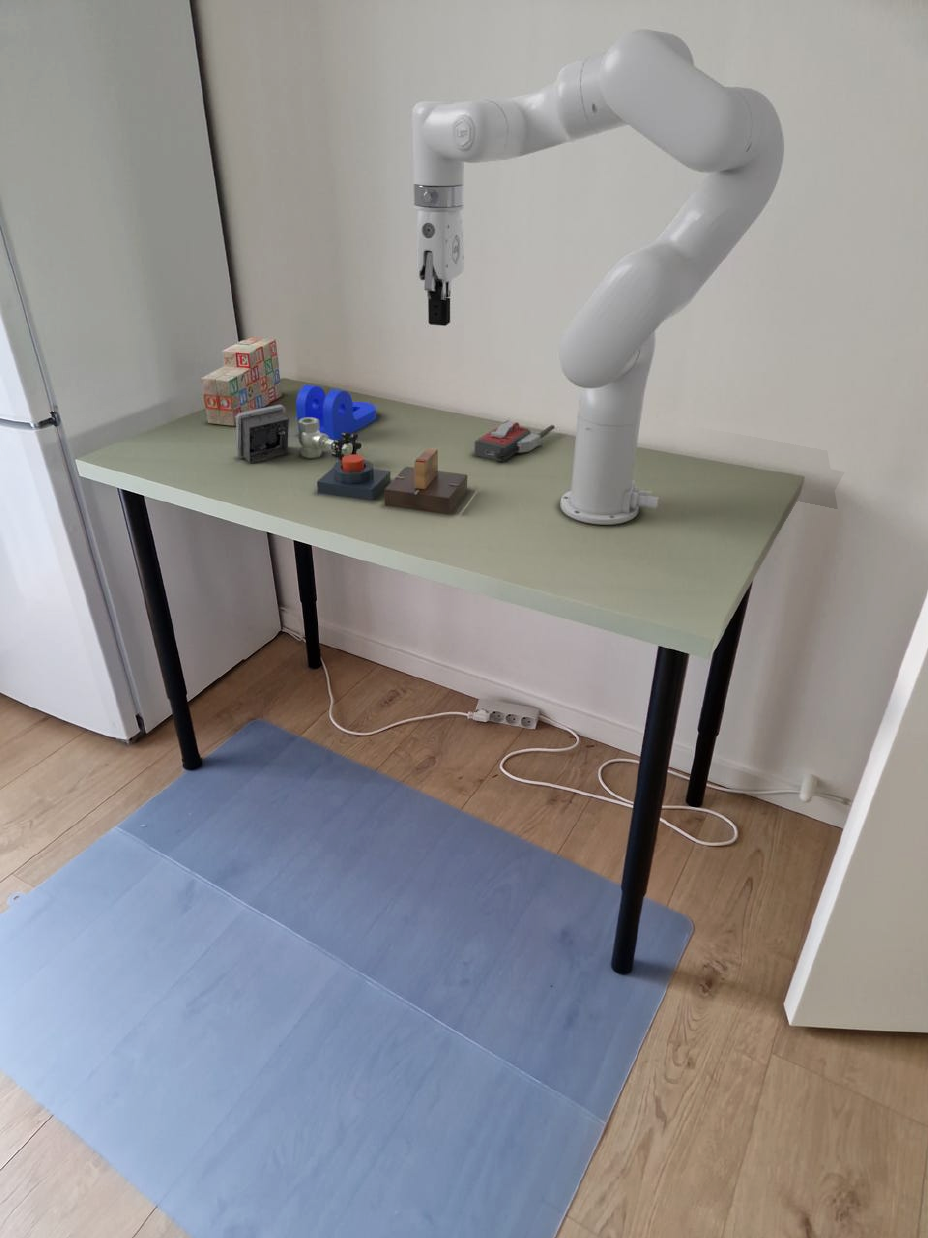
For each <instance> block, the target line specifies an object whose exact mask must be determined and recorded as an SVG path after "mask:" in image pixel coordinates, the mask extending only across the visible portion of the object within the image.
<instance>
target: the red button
mask: <svg viewBox="0 0 928 1238" xmlns="http://www.w3.org/2000/svg"><path fill="white" fill-rule="evenodd" d="M364 460H365V458H364V456H362V455H360V454H358V455H351V454H348V455H347V454H346V455H344V457H343V458H342V465H343V470H345V471H359V470H362V469H364Z"/></svg>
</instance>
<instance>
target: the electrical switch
mask: <svg viewBox="0 0 928 1238" xmlns="http://www.w3.org/2000/svg"><path fill="white" fill-rule="evenodd" d="M286 409H287V408H286V407H285V406H284V405H282V404H276V405H272V406H267V407H266V406H265V407H263V408H261V409H256V410H252V411H247V412H242V413H238V414H237V415H236V425H235V436H236V439H235V441H236V455H237V457H238V458H239V459H240V460H241V459H245V460H246V461H247V462H248V463H249V464H252V463H257V462H261V461H265V460H270V459H272V458H273V457H277V456H281V455H285V454H287V455H288V453H289V426H290V419H289V417H287V415H286V411H287V410H286Z"/></svg>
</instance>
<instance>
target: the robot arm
mask: <svg viewBox="0 0 928 1238" xmlns="http://www.w3.org/2000/svg"><path fill="white" fill-rule="evenodd" d="M694 61H695V60H694V57H693V54H692V52H691V49H690V47H689V46H688V45H687V43H686V42H685V41H684V40H683V39H682V38H680V37H679V36H677V35H676V34H673V33H670V32H665V31H657V30H650V29H636V30H631V31H629V32H627V33H624V34H622V35H621V36H620V37H618V38H617V39H616V40H615V41H614V42H613V43H612V44H611V45H610V46H609V48H608V49H607V51H604V52H601V53H598V54H595V55H593V56H590V57H585V58H582V59H580V60H577V61H574V62H571V63H568V64H567V65H565V66H563V67H562V68H561V69H560V71H559V72H558V74H557V77H556V80H555V81H554V82H552V83H550V84H548V85H546V86H544V87H542V88H540V89H539V88H538V89H536V90H534V91H531V92H528V93H527V92H526V93H524V94H522V95H518V96H515V97H512V98H508V99H477V100H476V99H475V100H473V99H471V100H464V101H459V102H455V101H445V100H425V101H424V100H423V101H418V102H417V103H416V104H415V105H414V106H413V108H412V111H411V131H412V133H411V135H412V179H413V180H412V181H413V209H414V210H415V211H416V210H417V223H416V225H417V226H416V273H417V277H418V279H419V280H420V281H424V286H423V287H424V288H423V289H424V291H426V292H427V293H426V294H427V307H428V311H427V313H428V317H427V318H428V325H431V326H443V327H446V326H447V325H449V324H450V323H451V293H452V280H453V279H455V278H457V277H458V276H460V275H461V274H462V273H463V272H464V269H465V268H464V267H465V260H464V258H465V257H464V230H463V228H464V227H463V218H462V210H464V188H465V187H464V183H465V181H464V180H465V179H464V177H465V176H464V175H465V173H464V172H465V171H464V170H465V167H464V166H465V163H467V164H482V163H488V162H489V163H490V162H497V161H508V160H512V159H516V158H520V157H523V156H526V155H527V156H528V155H529V154H534V153H537V152H540V151H544V150H548V149H550V148H554V147H557V146H560V145H563V144H567V143H574V142H576V141H578V140H582V139H585V138H588V137H591V136H595V135H598V134H602V133H604V132H607V131H612V130H615V129H618V128H622V127H624V126H630V127H631V128H632V129H633V130H635V131H636V132H637V133H638V134H640V135H642V136H643V137H644V138H646V139H647V140H648V141H649V142H651V143H653V144H654V145H655V146H656V147H658V148H659V149H661V150H662V151H663V152H665V153H666V154H667V155H668V156H670V157H671V158H673V159H674V160H675V161H676V162H678V163H680V164H681V165H683V166H685V167H686V168H687V169H689V170H692V171H695V172H699V173H705V174H707V175H706V177H705V179H704V180H703V182H702V183H701V184H700V185H699V186H698V187H697V189H695V190H694V192H693V193H692V194H690V196H689V198H687V200H686V201H685V202H684V203H683V205H682V206H681V207H680V209H679V210H678V212H677V213H676V215H675V217H674V218H673V219H672V220H671V221H670V222H669V223H668V225H667V226H666V227H665V229H664V230H663V231H662V232H661V234H660V235H659V236H657V238H656V239H655V240H654V241H653V242H651V243H650V244H649V245H646V246H644V247H641V248H638V249H636V250H633V251H631V252H630V253H628V254H626V255H625V256H623V257H622V258H621V259H620V260H619V261H618V262H617V263H616V264H614V265H613V267H612V268H611V269H610V270H609V271H608V273H606V275H605V276H604V277H603V279H602V280H601V282H599V284H598V286H597V287H596V288H595V290H594V291H593V293H592V294H591V295H590V297H589V298H588V299H587V301H586V302H585V303H584V305H583V306H582V307H581V309H580V310H579V312H578V313H577V314H576V315H575V317H574V318H573V320H572V321H571V322H570V323H569V325H568V326H567V328H566V330H565V332H564V333H563V335H562V337H561V341H560V344H559V348H558V361H559V366H560V368H561V371H562V373H563V375H564V376H565V378H566V379H567V380H568V381H569V382H570V383H572V384H573V385H574V386H577V387H578V388H579V387H580V388H581V389H580V393H579V399H578V400H579V401H578V412H577V420H576V432H575V444H574V455H573V465H572V476H571V488H570V489H571V490H569V491H567V492H565V493H564V494H563V495H562V496H561V497H560V505H559V506H560V510H561V512H563V513H564V514H565V515H566V516H568V517H569V518H571V519H573V520H576V521H578V522H582V523H586V524H591V525H598V526H599V525H600V526H612V525H619V524H624V523H627V522H629V521H631V520H633V519H634V518H636V517H637V515H638V514H639V508H646V509H650V510H658V506H659V500H660V497H659V496H653V491H649V490H648V491H647V490H639V488H636V480H635V479H633V478H634V473H635V464H636V456H637V449H638V443H639V442H638V441H639V433H640V426H641V419H642V413H643V406H644V400H645V393H646V389H647V388H646V387H647V382H648V380H649V379H648V378H649V375H650V371H651V367H652V363H653V359H654V355H655V350H656V349H655V348H656V330H657V329H658V328H659V327H660V326H661V325H662V324H663V323H664V322H665V321H666V320H669V319H670V318H672V317H674V316H675V315H677V314H679V313H680V312H682V311H683V310H685V308H686V307H688V306H689V304H690V303H691V302H692V300H693V299H694V298H695V296H696V295H697V294H698V293H699V292H700V290H701V288H703V286H704V285H705V284H706V282H707V281H708V280H709V279H710V277H712V275H713V274H714V273H715V271H716V270H717V269H718V268H719V267H720V265H721V264H722V263H723V262H724V261H725V259H726V258H727V257H728V256H729V254H730V253H731V251H733V249H734V248H735V247H736V245H737V244H738V243H739V241H741V239H742V238H743V236H745V234H746V233H747V232H748V230H749V229H750V228H751V227H752V225H753V224H754V223H755V222H756V220H757V219H758V217H759V216H760V215H761V213H763V210H764V209H765V208H766V206H767V204H768V202H769V201H770V199H771V197H772V195H773V193H774V191H775V188H776V187H777V184H778V182H779V178H780V176H781V171H782V168H783V162H784V155H785V140H784V139H785V138H784V133H783V132H784V131H783V127H782V122H781V120H780V117H779V114H778V111H777V109H776V108H775V106H774V105H773V103H772V101H770V99H768V98H767V96H765V95H764V94H763V93H761V92H760V91H758V90H755V89H752V88H749V87H739V86H724V85H723V84H721V83H720V82H719V81H718V80H715V78H713V77H711V76H709V75H708V74H706V73H705V72H703V70H701V69H699V68H698V67H696V66H695V63H694Z"/></svg>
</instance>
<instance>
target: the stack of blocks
mask: <svg viewBox="0 0 928 1238" xmlns="http://www.w3.org/2000/svg"><path fill="white" fill-rule="evenodd" d="M221 355H222V362H223V363H222V364H223V366H222V367H220V368H218V369H215V370H214V371H212V372H210V373H208V374H207V375H204V376H203V377H201V386H202V392H203V393H202V395H203V396H202V397H203V401H204V402H203V403H204V408H205V413H206V419H207V424H213V425H214V424H216V425H223V426H232V427H236V415H237V414H238V413H242V412H247V411H252V410H256V409H261V408H265V407H266V406H268V405H269V404H271V403H272V402H274V401H276V400H277V399H279V398H280V397H282V396H283V390H282V382H281V374H280V362H279V355H278V348H277V340H276V339H274V338H273V339H272V338H264V337H263V338H261V337H248V338H246V339H243V340H240V341H237V343H235V344H233V345H230V346H229V347H228V348H225V349H223V350H222V351H221Z"/></svg>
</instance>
